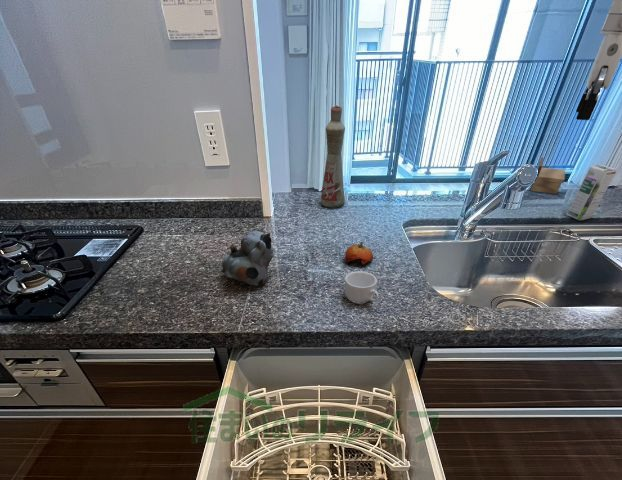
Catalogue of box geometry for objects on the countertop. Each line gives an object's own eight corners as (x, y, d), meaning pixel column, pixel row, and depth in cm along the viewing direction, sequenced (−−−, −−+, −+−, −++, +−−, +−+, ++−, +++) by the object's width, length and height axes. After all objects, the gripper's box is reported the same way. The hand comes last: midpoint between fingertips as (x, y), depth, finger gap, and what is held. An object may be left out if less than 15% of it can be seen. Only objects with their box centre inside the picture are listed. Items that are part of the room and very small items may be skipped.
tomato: (381, 258, 102) (366, 241, 97) (364, 279, 104) (349, 263, 99) (366, 251, 108) (352, 234, 103) (351, 270, 109) (336, 255, 105)
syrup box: (565, 215, 125) (589, 165, 114) (577, 212, 126) (602, 163, 115) (579, 221, 121) (605, 171, 110) (591, 218, 123) (619, 168, 112)
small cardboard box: (558, 184, 145) (569, 160, 139) (557, 194, 138) (569, 169, 131) (531, 181, 148) (541, 157, 141) (529, 190, 141) (539, 166, 134)
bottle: (349, 206, 132) (356, 106, 111) (327, 210, 129) (329, 109, 108) (337, 198, 137) (342, 101, 116) (316, 202, 134) (316, 104, 113)
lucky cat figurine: (220, 269, 102) (232, 216, 96) (261, 283, 106) (276, 232, 100) (219, 280, 89) (233, 220, 83) (266, 295, 93) (282, 239, 87)
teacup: (337, 298, 92) (338, 278, 88) (359, 287, 95) (361, 268, 91) (365, 315, 87) (367, 295, 83) (387, 304, 90) (390, 283, 86)
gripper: (643, 27, 81) (598, 123, 94) (635, 23, 91) (596, 110, 104) (605, 27, 83) (566, 121, 96) (601, 23, 93) (567, 108, 106)
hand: (582, 115), depth 100 cm, fingers open, 9 cm apart
